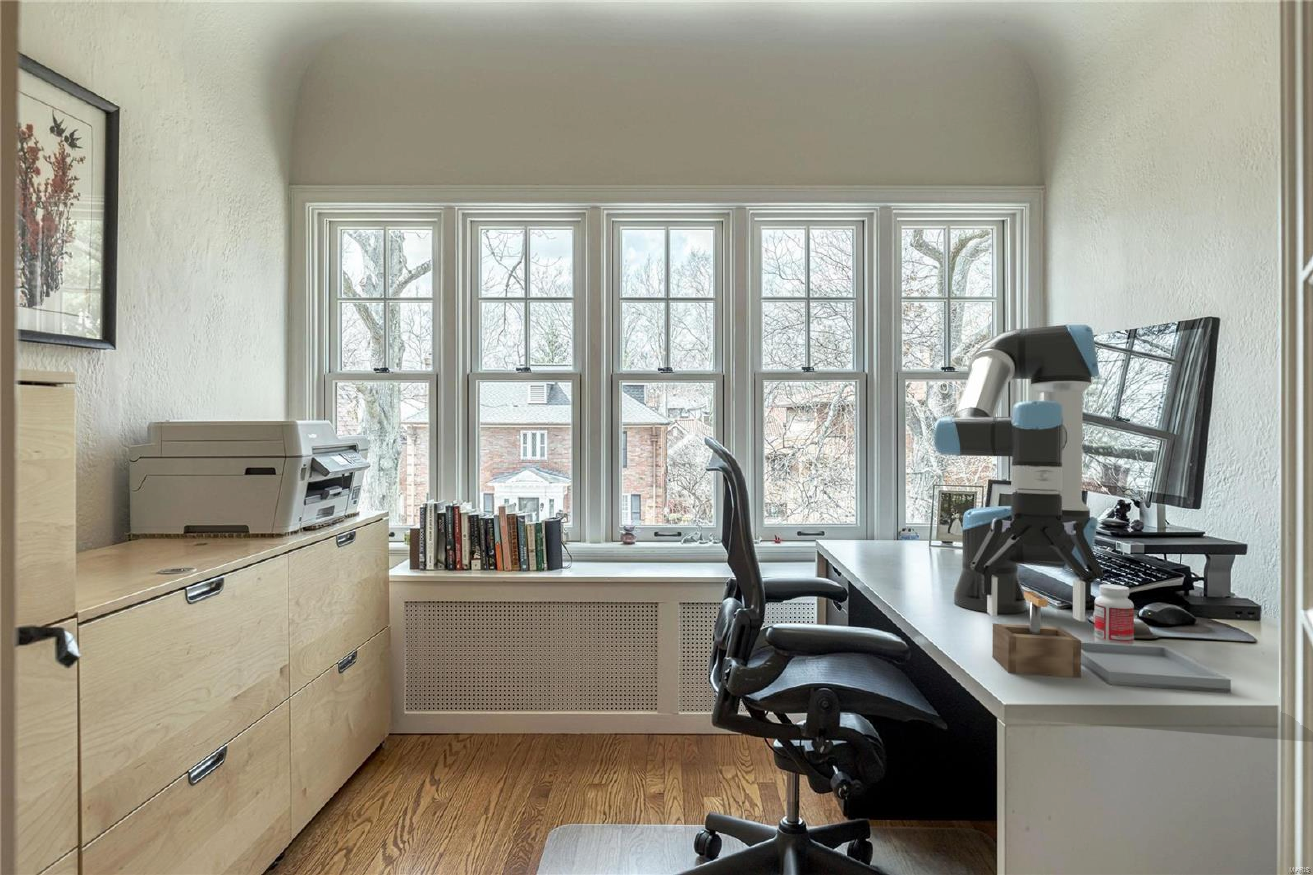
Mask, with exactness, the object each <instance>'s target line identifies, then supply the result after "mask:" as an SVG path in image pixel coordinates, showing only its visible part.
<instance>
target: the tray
mask: <svg viewBox="0 0 1313 875" xmlns="http://www.w3.org/2000/svg"><path fill="white" fill-rule="evenodd" d="M1081 666H1083V667H1084V668H1085V669H1087V670H1088V671H1089V672H1091V673H1092V674H1094V675H1095V676H1097V677H1098V678H1099V679H1101V680H1102V681H1103V682H1105V683H1106V684H1108V685H1111V686H1112V685H1113V686H1115V685H1116V686H1124V687H1125V686H1129V687H1141V688H1142V687H1144V688H1156V689H1158V688H1159V689H1170V690H1171V689H1173V690H1184V691H1185V690H1186V691H1187V690H1188V691H1199V692H1200V691H1201V692H1213V691H1221V692H1220V693H1228V692H1231V690H1232V689H1231V687H1232V686H1231V685H1232V683H1231V682H1232V680H1231V679H1230V678H1228V677H1227V676H1224V675H1222V674H1220V673H1219V672H1217V671H1215V670H1213V669H1211V668H1209V667H1207V666H1205V665H1203V664H1201V663H1200V662H1197V660H1196V661H1195V660H1194V659H1192V658H1190V657H1188V656H1186V655H1184V654H1182V653H1180V652H1178V651H1177V650H1174V649H1173V648H1171V647H1169V646H1166V645H1153V644H1135V643H1134V644H1120V643H1103V642H1096V641H1084V640H1081Z"/></svg>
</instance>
